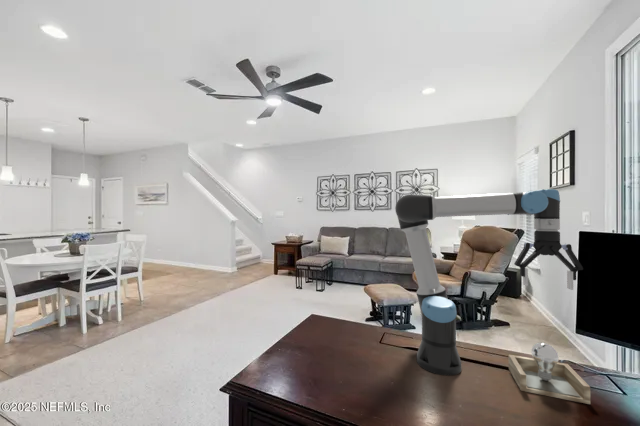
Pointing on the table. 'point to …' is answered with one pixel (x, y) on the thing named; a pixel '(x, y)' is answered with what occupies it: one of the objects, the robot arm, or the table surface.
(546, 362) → the light bulb
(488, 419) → the table surface
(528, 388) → the shallow wooden tray
